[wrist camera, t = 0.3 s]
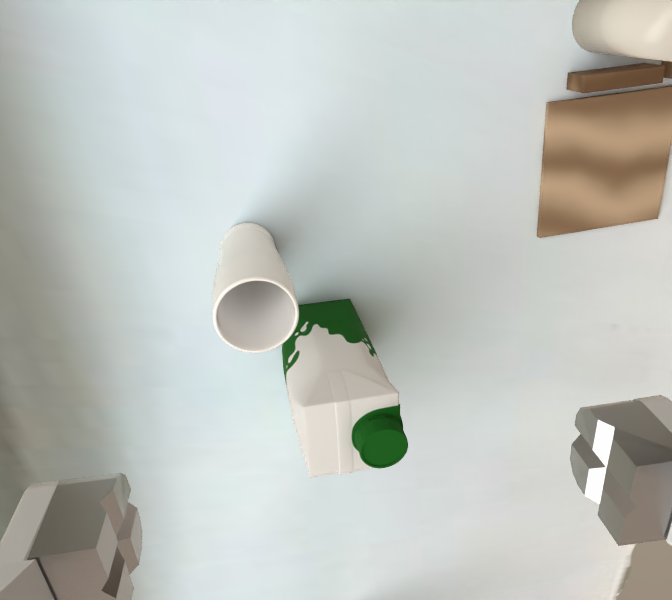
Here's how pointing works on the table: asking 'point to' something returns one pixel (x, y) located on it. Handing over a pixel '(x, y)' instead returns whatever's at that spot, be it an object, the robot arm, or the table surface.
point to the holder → (618, 77)
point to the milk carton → (340, 393)
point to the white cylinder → (625, 27)
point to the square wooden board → (604, 160)
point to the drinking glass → (252, 291)
